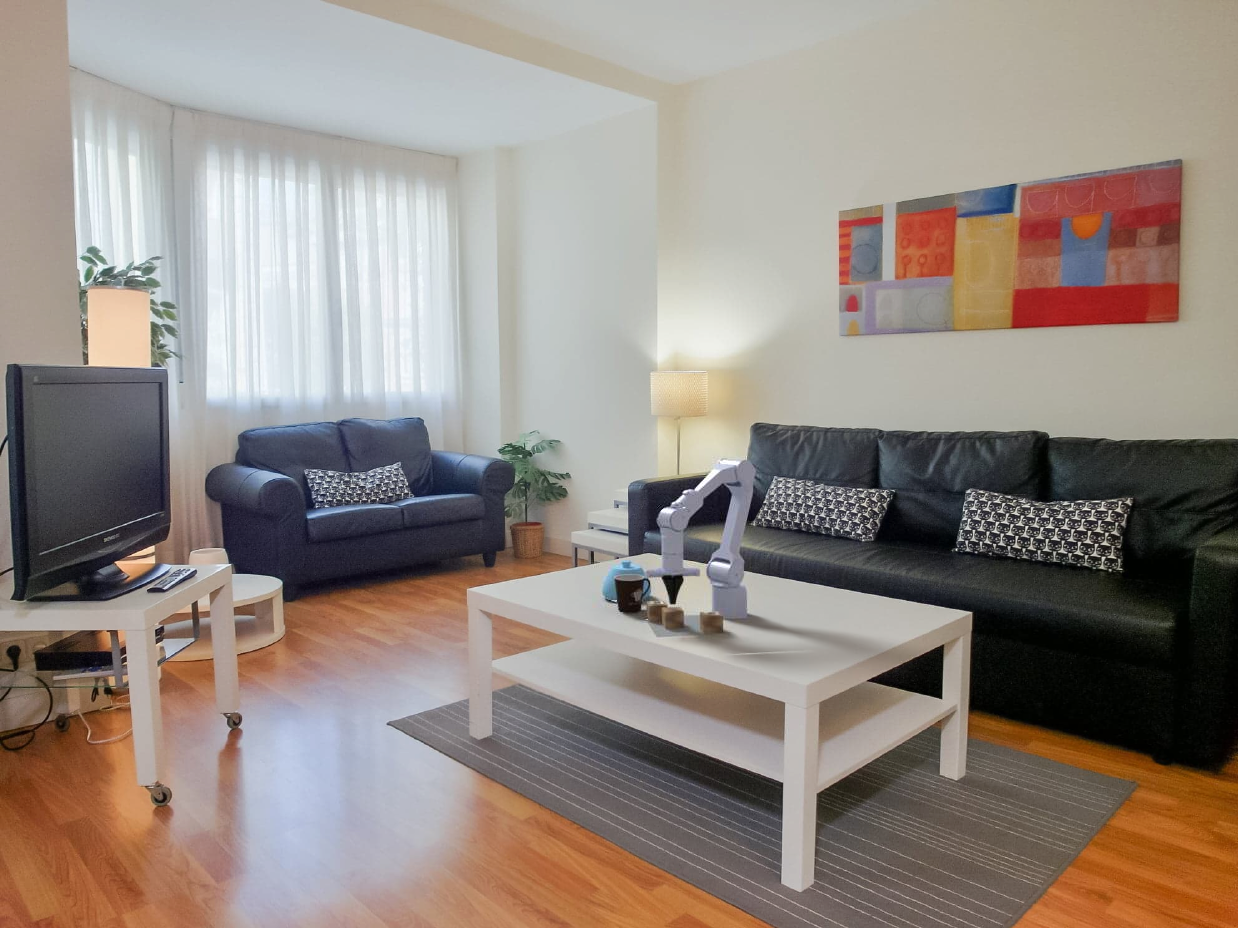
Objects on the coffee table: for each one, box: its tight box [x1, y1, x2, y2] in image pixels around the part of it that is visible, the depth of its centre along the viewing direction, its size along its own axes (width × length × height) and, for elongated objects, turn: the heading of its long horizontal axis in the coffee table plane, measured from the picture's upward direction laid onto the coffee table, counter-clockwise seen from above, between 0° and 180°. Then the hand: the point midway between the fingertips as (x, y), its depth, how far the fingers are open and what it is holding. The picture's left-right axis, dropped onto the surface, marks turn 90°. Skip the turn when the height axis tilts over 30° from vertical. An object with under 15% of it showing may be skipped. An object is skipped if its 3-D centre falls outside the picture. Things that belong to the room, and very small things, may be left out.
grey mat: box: [644, 614, 726, 638], centre depth 237 cm, size 18×20×1 cm
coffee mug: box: [614, 574, 651, 614], centre depth 254 cm, size 12×9×10 cm
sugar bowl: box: [601, 559, 652, 601], centre depth 270 cm, size 15×15×12 cm
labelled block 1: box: [645, 600, 669, 622], centre depth 243 cm, size 5×5×5 cm
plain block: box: [662, 606, 685, 629], centre depth 236 cm, size 5×5×4 cm
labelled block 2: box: [699, 611, 724, 635], centre depth 231 cm, size 5×5×5 cm
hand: (672, 603), depth 236 cm, fingers closed
